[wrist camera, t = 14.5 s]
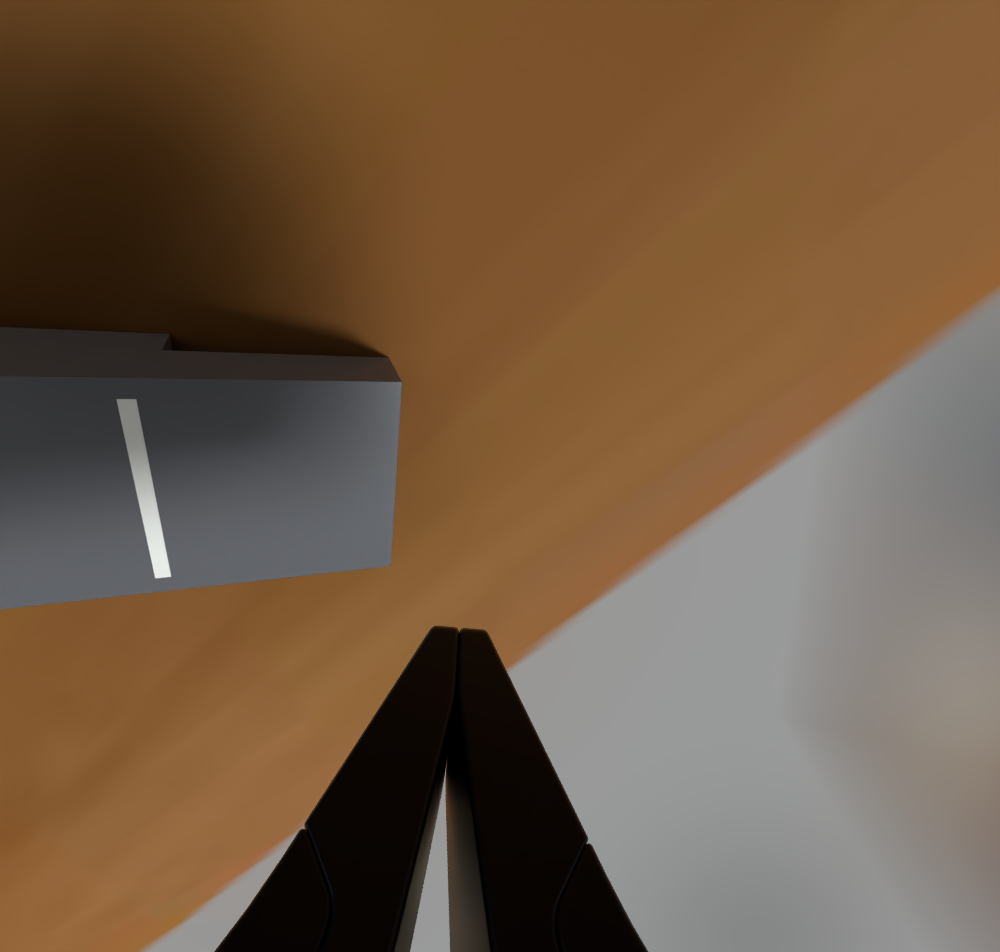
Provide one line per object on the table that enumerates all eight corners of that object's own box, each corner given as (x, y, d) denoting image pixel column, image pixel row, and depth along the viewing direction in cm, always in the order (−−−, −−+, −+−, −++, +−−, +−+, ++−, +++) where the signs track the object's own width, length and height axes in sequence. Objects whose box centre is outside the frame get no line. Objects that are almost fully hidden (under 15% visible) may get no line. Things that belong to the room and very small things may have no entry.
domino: (401, 382, 11) (-292, 372, 8) (390, 566, 14) (-141, 625, 10) (388, 357, 13) (-210, 338, 9) (380, 529, 15) (-94, 569, 11)
